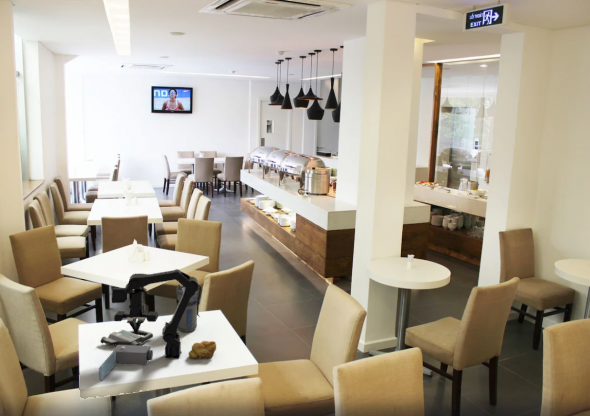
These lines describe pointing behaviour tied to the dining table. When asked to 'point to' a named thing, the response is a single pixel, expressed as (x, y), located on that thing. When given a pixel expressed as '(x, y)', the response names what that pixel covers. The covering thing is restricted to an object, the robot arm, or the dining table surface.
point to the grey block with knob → (133, 354)
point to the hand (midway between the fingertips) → (136, 333)
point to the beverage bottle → (189, 310)
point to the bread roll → (202, 350)
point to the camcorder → (127, 338)
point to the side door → (107, 365)
